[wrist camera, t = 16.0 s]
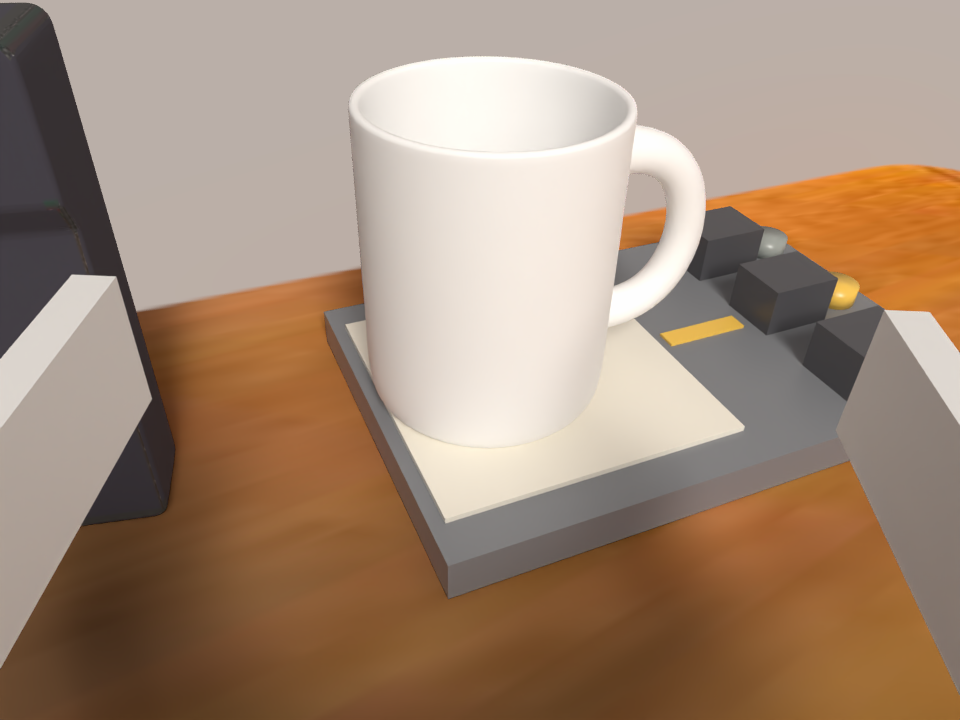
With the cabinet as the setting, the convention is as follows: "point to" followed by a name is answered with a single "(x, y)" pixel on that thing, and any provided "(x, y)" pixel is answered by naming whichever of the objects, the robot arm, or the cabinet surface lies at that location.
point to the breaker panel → (644, 412)
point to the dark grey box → (64, 237)
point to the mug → (504, 239)
